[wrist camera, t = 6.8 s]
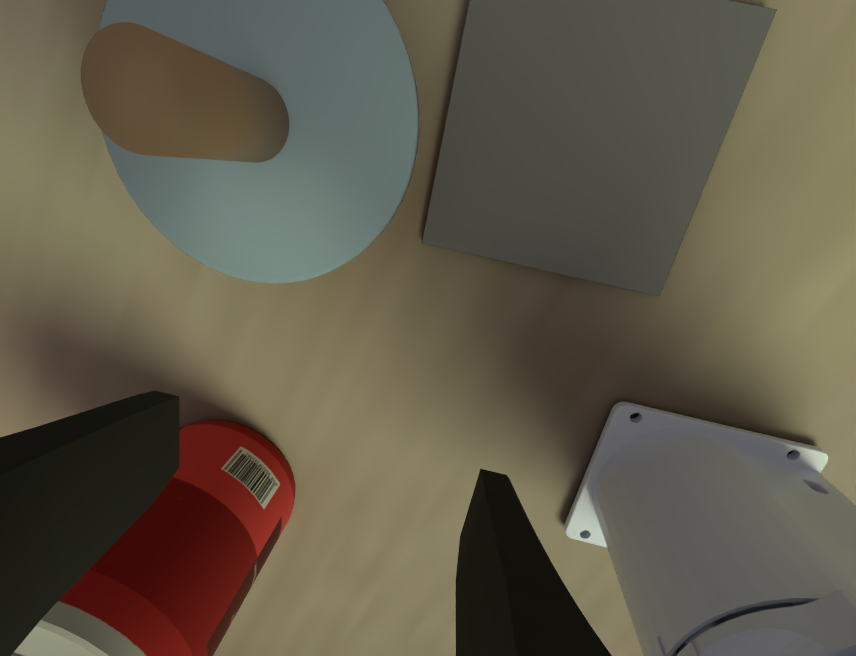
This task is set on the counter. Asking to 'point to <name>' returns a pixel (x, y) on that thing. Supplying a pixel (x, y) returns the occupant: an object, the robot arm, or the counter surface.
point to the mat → (588, 131)
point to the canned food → (179, 555)
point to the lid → (257, 126)
